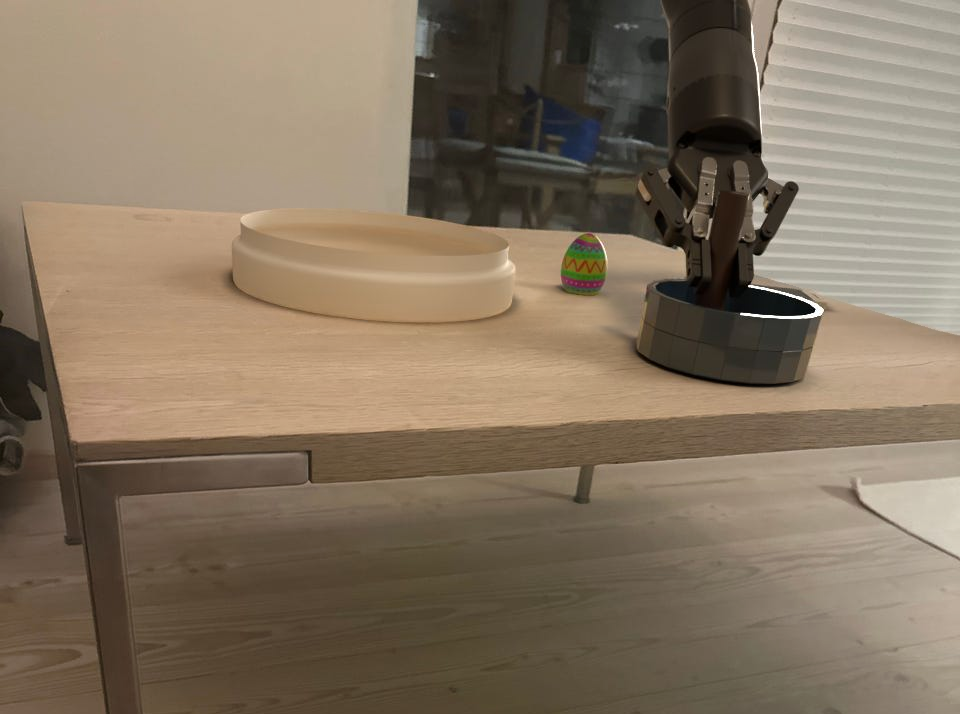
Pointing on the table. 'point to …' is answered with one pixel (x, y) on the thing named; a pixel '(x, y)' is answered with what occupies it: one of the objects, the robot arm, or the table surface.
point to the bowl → (729, 334)
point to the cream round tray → (372, 265)
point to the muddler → (723, 245)
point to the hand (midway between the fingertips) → (720, 289)
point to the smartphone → (798, 294)
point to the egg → (584, 266)
